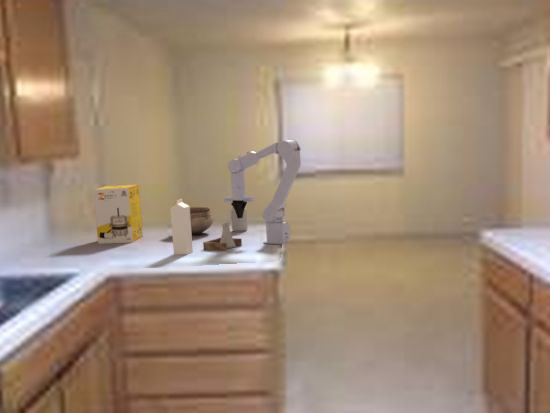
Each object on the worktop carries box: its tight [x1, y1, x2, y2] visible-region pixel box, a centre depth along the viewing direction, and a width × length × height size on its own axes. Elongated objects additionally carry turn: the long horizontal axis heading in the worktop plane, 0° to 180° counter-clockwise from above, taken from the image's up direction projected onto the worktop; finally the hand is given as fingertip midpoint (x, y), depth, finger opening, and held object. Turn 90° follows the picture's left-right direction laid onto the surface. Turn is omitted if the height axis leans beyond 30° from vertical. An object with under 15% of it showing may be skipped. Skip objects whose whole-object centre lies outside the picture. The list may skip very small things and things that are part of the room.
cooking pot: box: [190, 206, 214, 236], centre depth 336 cm, size 25×19×12 cm
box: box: [202, 237, 243, 252], centre depth 295 cm, size 11×12×3 cm
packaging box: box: [93, 184, 144, 245], centre depth 330 cm, size 16×16×25 cm
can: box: [230, 206, 248, 233], centre depth 339 cm, size 8×8×12 cm
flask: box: [220, 222, 237, 249], centre depth 295 cm, size 7×7×10 cm
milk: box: [170, 198, 194, 256], centre depth 285 cm, size 6×6×22 cm
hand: (240, 218), depth 305 cm, fingers closed
